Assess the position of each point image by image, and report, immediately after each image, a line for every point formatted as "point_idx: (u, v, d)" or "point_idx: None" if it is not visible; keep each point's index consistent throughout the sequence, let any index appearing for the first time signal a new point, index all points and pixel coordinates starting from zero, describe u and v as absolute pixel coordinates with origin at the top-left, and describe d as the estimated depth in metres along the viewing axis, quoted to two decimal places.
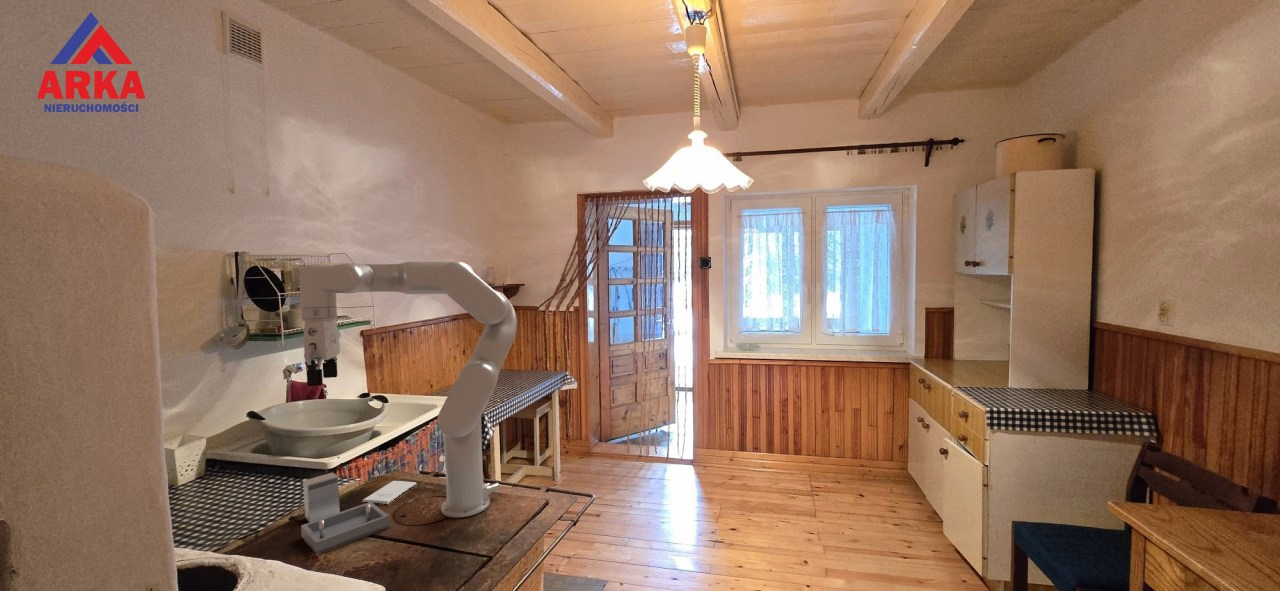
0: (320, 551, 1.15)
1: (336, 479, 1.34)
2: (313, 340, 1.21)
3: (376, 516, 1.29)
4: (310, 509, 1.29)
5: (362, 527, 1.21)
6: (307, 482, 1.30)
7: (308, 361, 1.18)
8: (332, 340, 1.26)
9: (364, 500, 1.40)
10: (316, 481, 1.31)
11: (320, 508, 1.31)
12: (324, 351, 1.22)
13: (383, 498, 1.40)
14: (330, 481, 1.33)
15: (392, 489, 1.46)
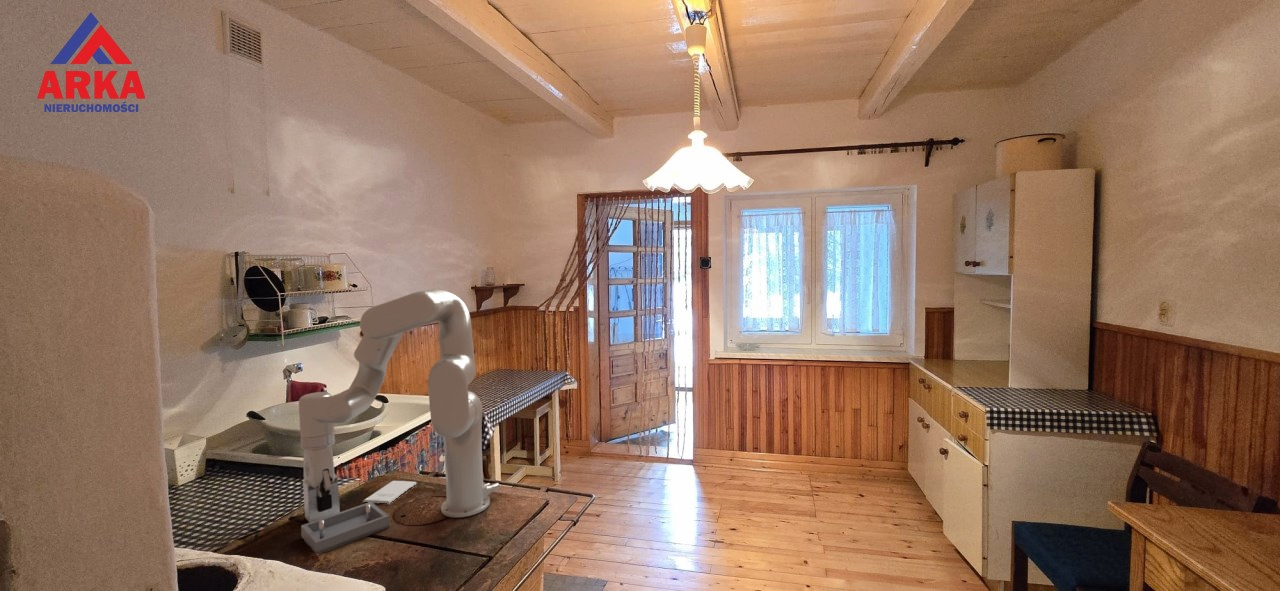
0: (320, 551, 1.15)
1: (336, 479, 1.34)
2: None
3: (376, 516, 1.29)
4: (310, 509, 1.29)
5: (362, 527, 1.21)
6: (307, 482, 1.30)
7: None
8: (306, 467, 1.31)
9: (365, 500, 1.40)
10: None
11: None
12: None
13: (384, 498, 1.40)
14: None
15: (393, 489, 1.46)
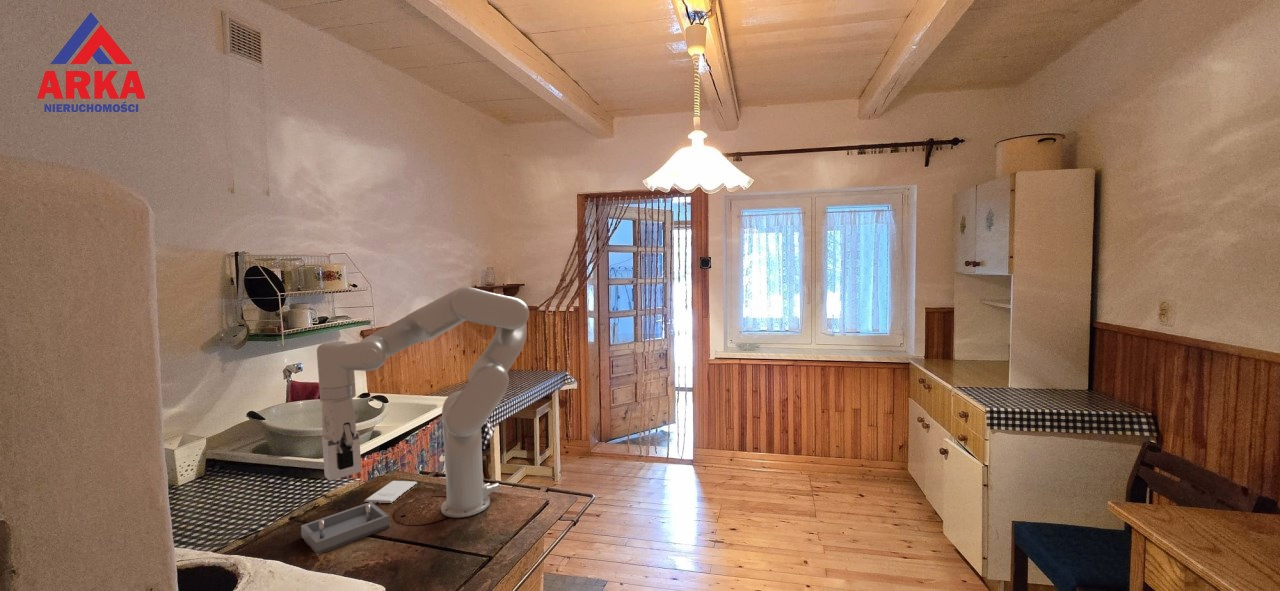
0: (320, 551, 1.15)
1: (357, 435, 1.24)
2: None
3: (376, 516, 1.29)
4: (330, 466, 1.19)
5: (362, 527, 1.21)
6: (326, 437, 1.20)
7: None
8: (326, 422, 1.21)
9: (367, 500, 1.40)
10: None
11: None
12: None
13: (386, 497, 1.40)
14: None
15: (393, 489, 1.46)
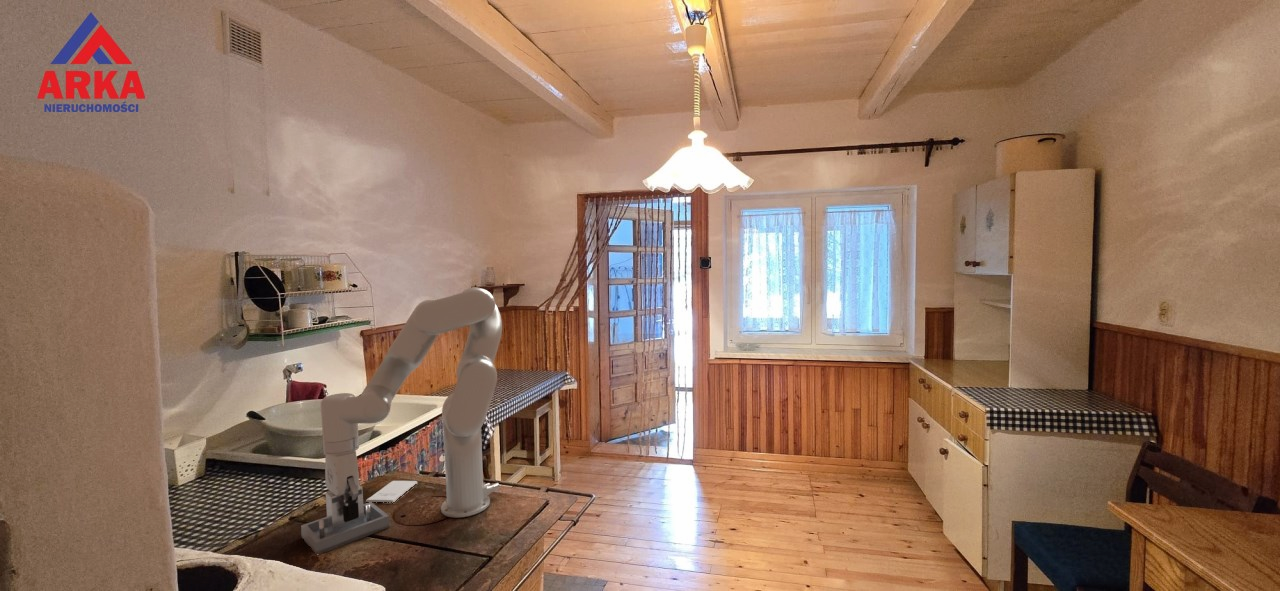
0: (320, 551, 1.15)
1: (361, 490, 1.24)
2: None
3: (376, 516, 1.29)
4: (334, 523, 1.20)
5: (362, 527, 1.21)
6: (330, 494, 1.21)
7: None
8: (329, 474, 1.21)
9: (368, 500, 1.40)
10: None
11: (344, 522, 1.22)
12: None
13: (387, 497, 1.41)
14: None
15: (394, 489, 1.46)
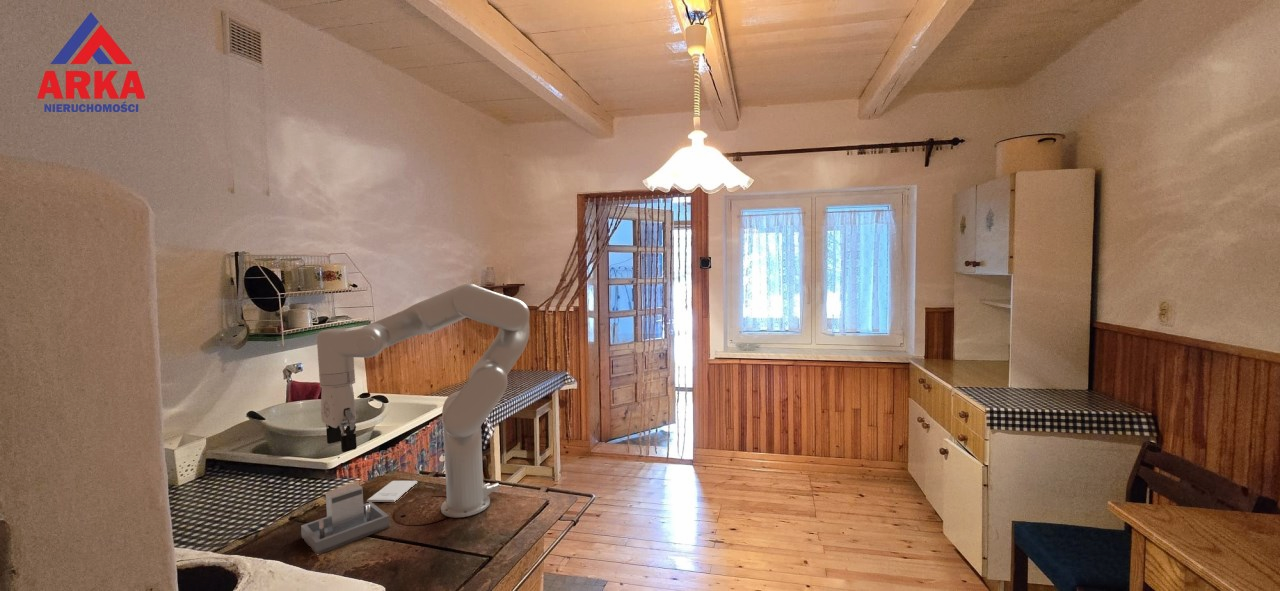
0: (320, 551, 1.15)
1: (361, 490, 1.24)
2: None
3: (376, 516, 1.29)
4: (334, 523, 1.20)
5: (362, 527, 1.21)
6: (330, 494, 1.21)
7: None
8: (325, 407, 1.22)
9: (369, 500, 1.40)
10: (340, 493, 1.22)
11: (344, 522, 1.22)
12: None
13: (388, 497, 1.41)
14: (354, 493, 1.23)
15: (395, 489, 1.46)
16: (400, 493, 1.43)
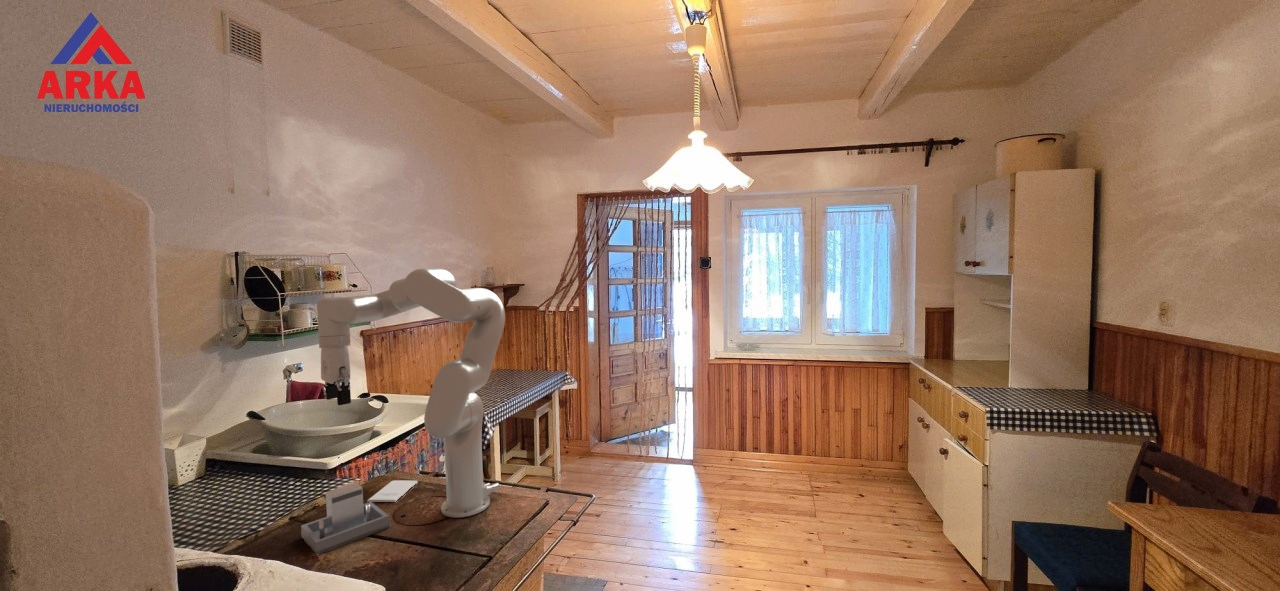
0: (320, 551, 1.15)
1: (361, 490, 1.24)
2: None
3: (376, 516, 1.29)
4: (334, 523, 1.20)
5: (362, 527, 1.21)
6: (330, 494, 1.21)
7: None
8: (324, 366, 1.39)
9: (370, 500, 1.40)
10: (340, 493, 1.22)
11: (344, 522, 1.22)
12: None
13: (389, 497, 1.41)
14: (354, 493, 1.23)
15: (395, 488, 1.46)
16: (401, 493, 1.43)
